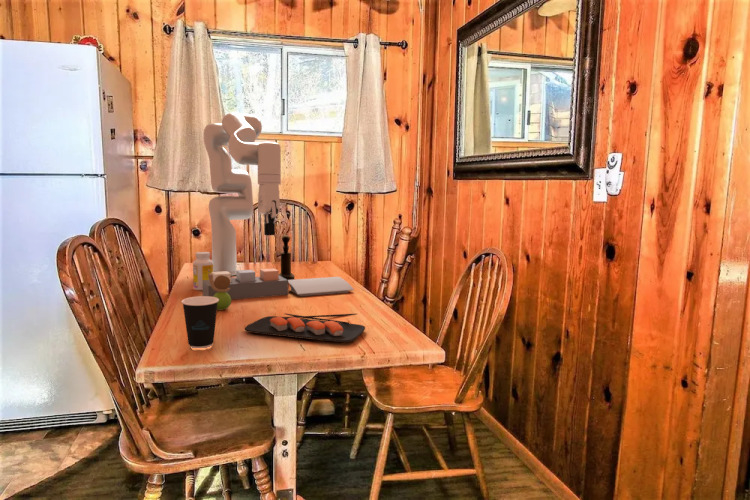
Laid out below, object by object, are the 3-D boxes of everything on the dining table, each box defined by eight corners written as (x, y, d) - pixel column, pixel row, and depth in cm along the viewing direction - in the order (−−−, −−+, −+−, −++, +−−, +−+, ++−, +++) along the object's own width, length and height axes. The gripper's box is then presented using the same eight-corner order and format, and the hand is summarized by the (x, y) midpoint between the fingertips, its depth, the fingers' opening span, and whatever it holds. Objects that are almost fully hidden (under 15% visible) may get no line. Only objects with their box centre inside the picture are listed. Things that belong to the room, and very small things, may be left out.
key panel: (202, 295, 167) (202, 280, 166) (278, 289, 179) (278, 275, 179) (208, 301, 158) (208, 285, 157) (288, 294, 171) (288, 280, 170)
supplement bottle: (216, 287, 179) (216, 251, 178) (208, 291, 173) (208, 254, 171) (198, 286, 180) (197, 251, 178) (190, 290, 173) (189, 253, 172)
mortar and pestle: (282, 279, 198) (282, 233, 196) (297, 280, 196) (297, 234, 194) (274, 282, 192) (273, 235, 190) (289, 283, 190) (289, 236, 187)
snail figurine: (209, 308, 150) (208, 268, 148) (231, 307, 152) (231, 267, 150) (207, 312, 145) (207, 271, 143) (231, 311, 146) (230, 270, 145)
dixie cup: (205, 339, 120) (205, 294, 118) (226, 346, 115) (226, 299, 114) (175, 347, 113) (174, 300, 112) (196, 355, 109) (195, 305, 107)
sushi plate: (239, 336, 125) (239, 321, 124) (290, 309, 153) (290, 296, 153) (351, 349, 117) (351, 333, 117) (383, 317, 146) (383, 304, 145)
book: (280, 290, 180) (280, 279, 179) (339, 285, 190) (339, 275, 190) (293, 299, 166) (294, 287, 166) (356, 294, 177) (357, 283, 176)
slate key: (236, 282, 169) (236, 270, 169) (251, 281, 172) (251, 269, 171) (240, 285, 165) (240, 273, 164) (255, 284, 167) (255, 272, 167)
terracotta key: (260, 280, 173) (260, 269, 172) (274, 279, 175) (274, 268, 175) (264, 283, 169) (264, 271, 168) (278, 282, 171) (278, 270, 170)
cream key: (211, 284, 165) (211, 272, 165) (227, 282, 168) (227, 271, 167) (215, 286, 161) (214, 274, 160) (230, 285, 163) (230, 273, 163)
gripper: (252, 180, 172) (252, 233, 174) (264, 179, 159) (265, 237, 161) (273, 180, 176) (273, 233, 178) (287, 180, 163) (287, 236, 165)
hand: (269, 234), depth 170 cm, fingers closed
